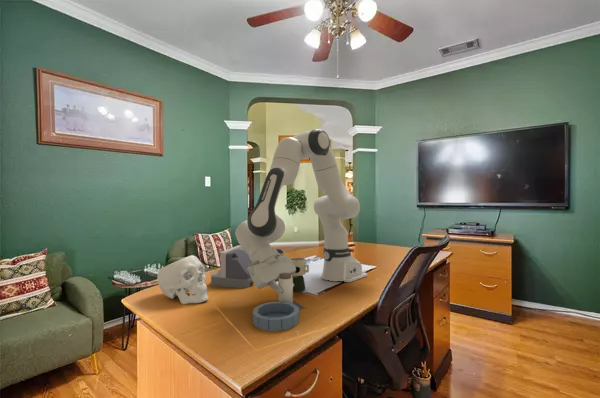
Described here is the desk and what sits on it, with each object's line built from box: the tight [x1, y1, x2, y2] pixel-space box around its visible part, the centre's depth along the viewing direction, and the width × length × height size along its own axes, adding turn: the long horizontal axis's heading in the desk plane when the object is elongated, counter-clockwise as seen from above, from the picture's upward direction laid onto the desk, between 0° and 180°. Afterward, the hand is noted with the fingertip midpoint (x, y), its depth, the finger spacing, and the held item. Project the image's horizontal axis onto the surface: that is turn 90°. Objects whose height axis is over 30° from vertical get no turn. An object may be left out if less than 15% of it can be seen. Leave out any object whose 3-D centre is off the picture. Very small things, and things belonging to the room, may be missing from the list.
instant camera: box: [210, 244, 255, 289], centre depth 131 cm, size 21×21×15 cm
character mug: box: [288, 256, 310, 292], centre depth 116 cm, size 11×7×13 cm, turn 59°
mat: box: [293, 300, 306, 311], centre depth 99 cm, size 10×10×1 cm
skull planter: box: [157, 254, 209, 305], centre depth 109 cm, size 14×20×19 cm
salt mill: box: [277, 273, 294, 303], centre depth 98 cm, size 5×5×11 cm
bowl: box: [252, 300, 300, 332], centre depth 87 cm, size 14×14×4 cm
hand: (287, 290), depth 98 cm, fingers closed on salt mill, 5 cm apart
